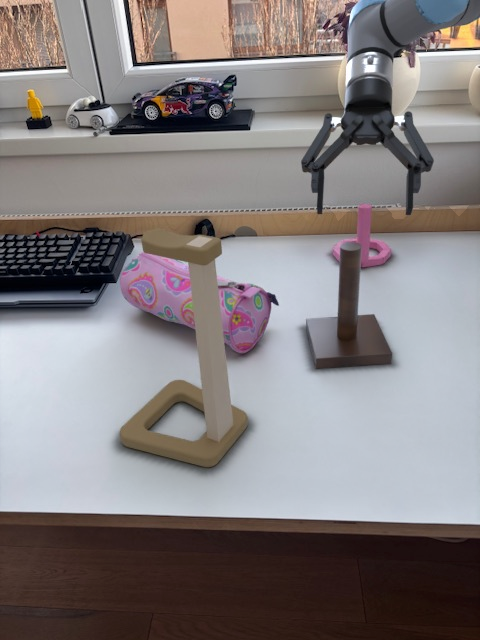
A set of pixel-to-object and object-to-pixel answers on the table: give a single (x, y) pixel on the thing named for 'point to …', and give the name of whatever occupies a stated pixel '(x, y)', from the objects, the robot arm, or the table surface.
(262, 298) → the pencil case
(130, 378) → the table surface
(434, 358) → the table surface
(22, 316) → the table surface
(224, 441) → the headphone stand
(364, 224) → the pink ring with handle
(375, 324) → the stand
